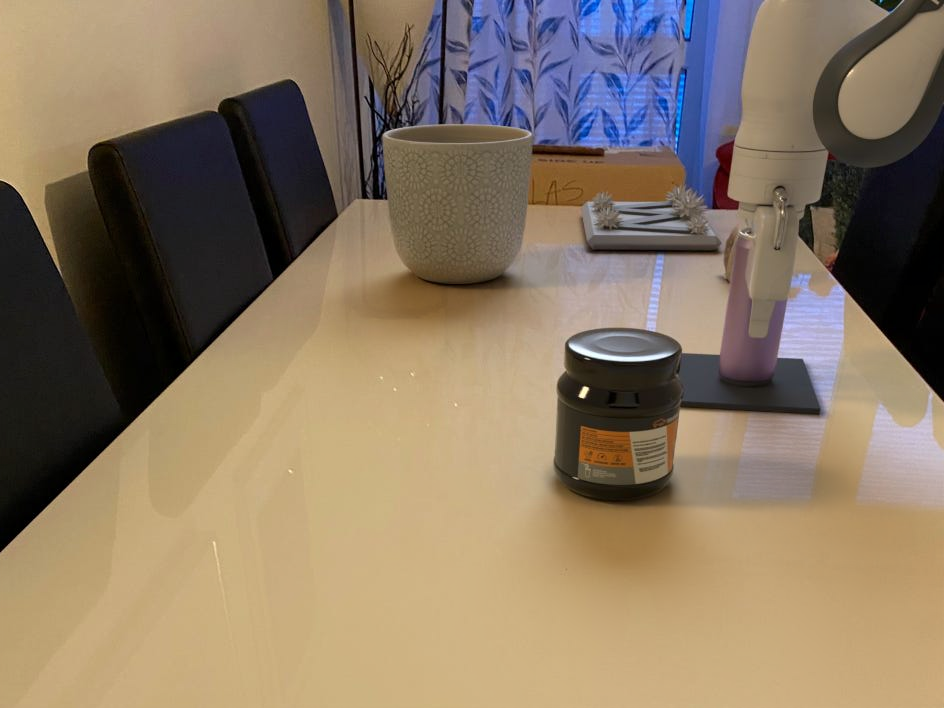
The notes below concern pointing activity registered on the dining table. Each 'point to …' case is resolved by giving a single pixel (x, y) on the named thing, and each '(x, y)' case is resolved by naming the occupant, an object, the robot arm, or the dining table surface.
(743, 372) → the beverage can
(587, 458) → the supplement container
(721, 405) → the mat
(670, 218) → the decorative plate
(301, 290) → the dining table surface
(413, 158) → the planter
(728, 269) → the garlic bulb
